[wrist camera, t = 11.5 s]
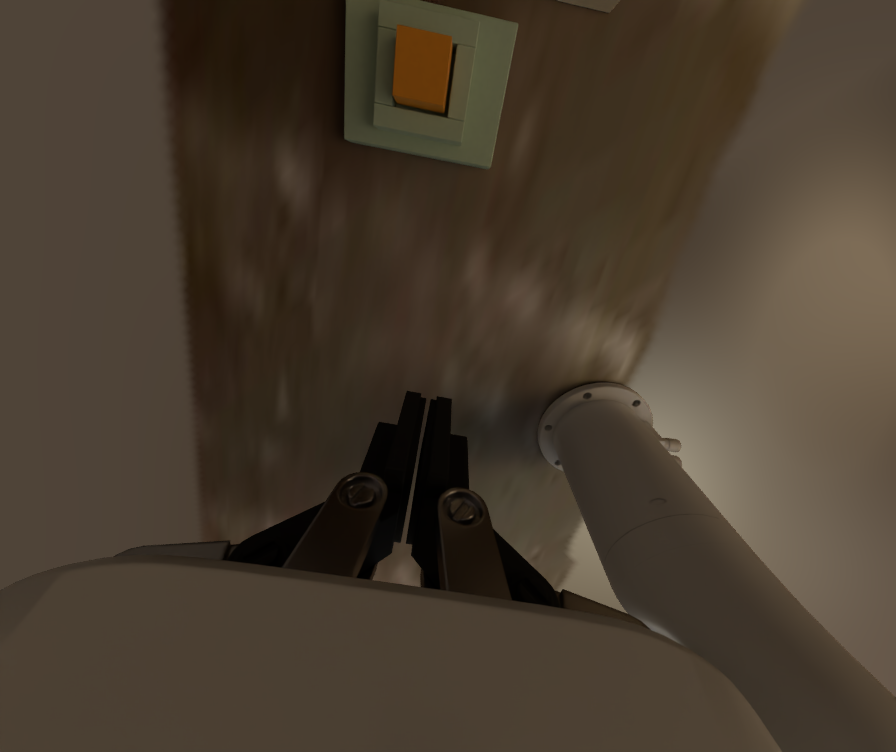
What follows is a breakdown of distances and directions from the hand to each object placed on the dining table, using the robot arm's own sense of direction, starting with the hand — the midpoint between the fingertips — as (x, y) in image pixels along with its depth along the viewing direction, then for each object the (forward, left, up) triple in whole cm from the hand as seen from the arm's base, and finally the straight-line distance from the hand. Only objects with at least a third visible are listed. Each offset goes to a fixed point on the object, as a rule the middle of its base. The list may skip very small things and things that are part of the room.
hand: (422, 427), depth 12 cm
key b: (+3, -14, -18) cm, 23 cm away
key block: (+3, -14, -21) cm, 26 cm away
